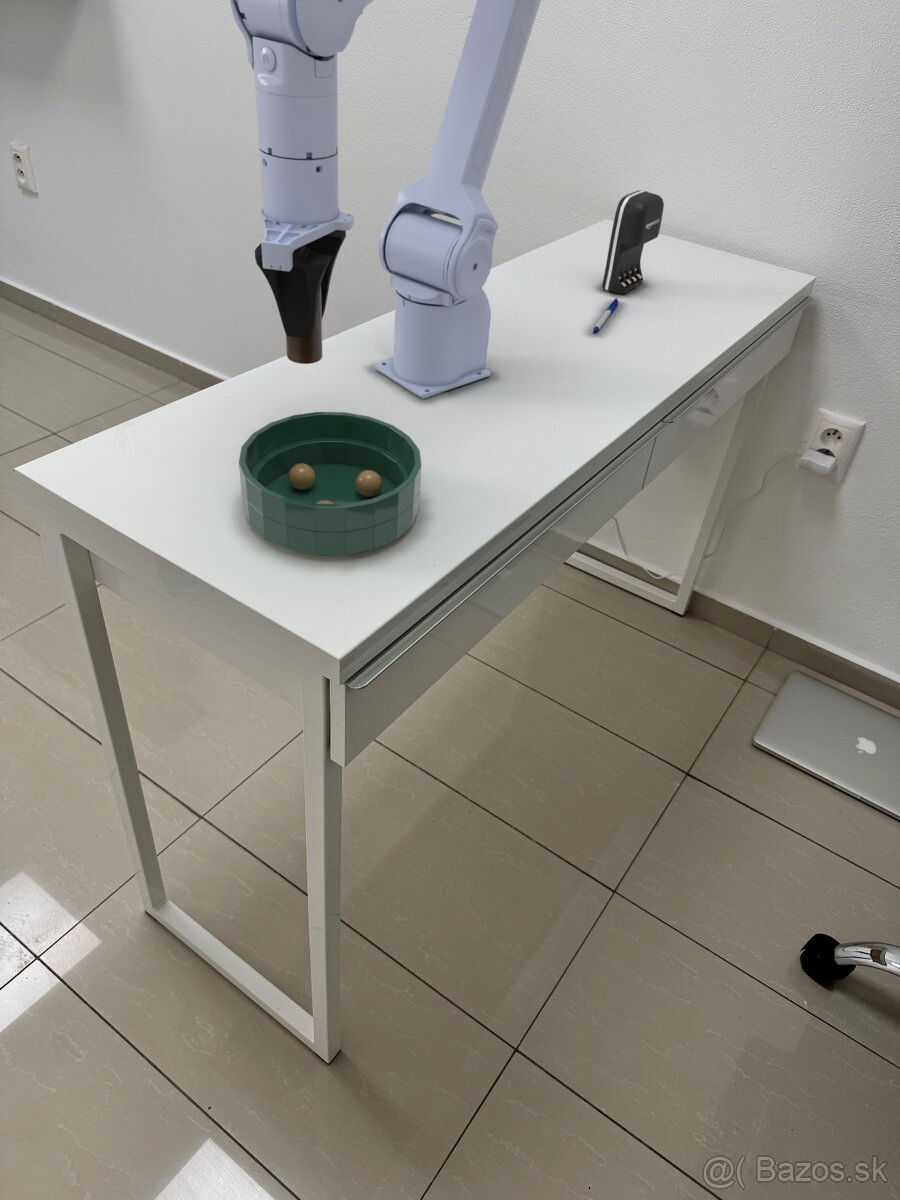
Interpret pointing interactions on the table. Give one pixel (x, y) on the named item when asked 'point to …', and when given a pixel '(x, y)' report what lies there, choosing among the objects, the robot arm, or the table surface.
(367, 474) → the bead
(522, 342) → the table surface
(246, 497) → the bowl
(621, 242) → the battery charger
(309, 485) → the bead
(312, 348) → the brown wooden cylinder
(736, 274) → the table surface
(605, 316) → the ballpoint pen
